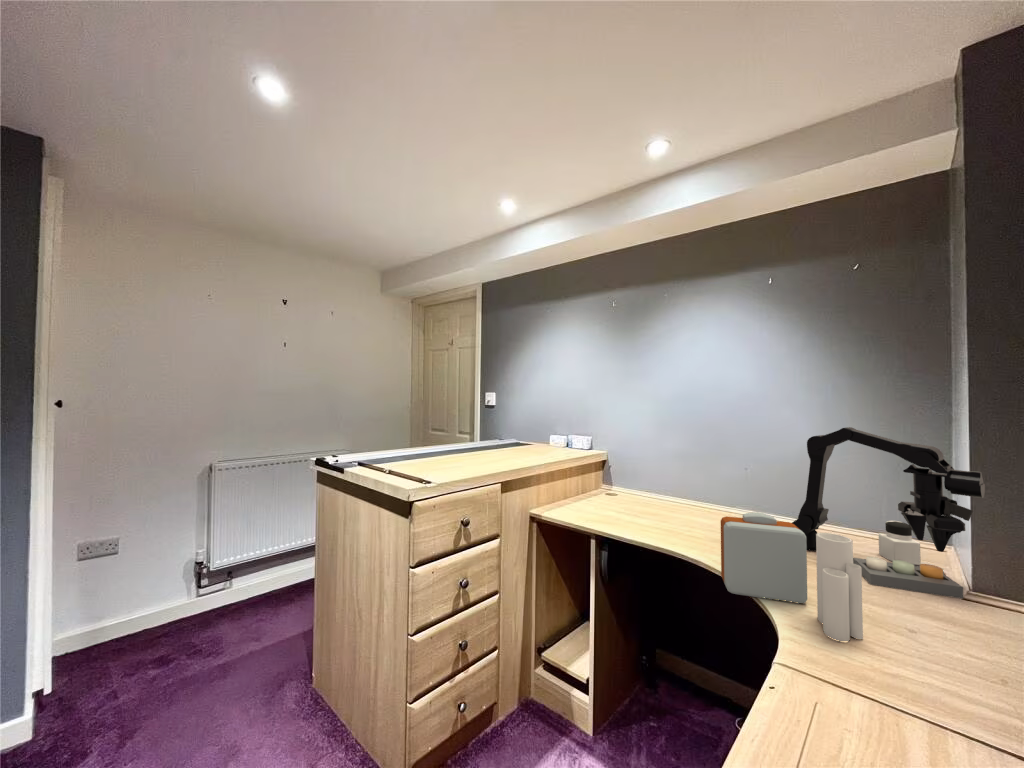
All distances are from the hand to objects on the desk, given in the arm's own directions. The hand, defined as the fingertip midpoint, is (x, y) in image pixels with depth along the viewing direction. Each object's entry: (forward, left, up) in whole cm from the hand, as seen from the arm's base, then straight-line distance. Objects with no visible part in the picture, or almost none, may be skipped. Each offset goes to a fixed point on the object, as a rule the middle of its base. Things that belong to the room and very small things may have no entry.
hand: (929, 545), depth 111 cm
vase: (-32, -38, -11) cm, 51 cm away
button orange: (-1, -2, -8) cm, 9 cm away
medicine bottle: (0, +17, -11) cm, 20 cm away
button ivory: (-13, -2, -8) cm, 15 cm away
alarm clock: (-45, -25, -11) cm, 53 cm away
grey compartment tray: (-7, -2, -11) cm, 13 cm away
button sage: (-7, -2, -8) cm, 11 cm away
